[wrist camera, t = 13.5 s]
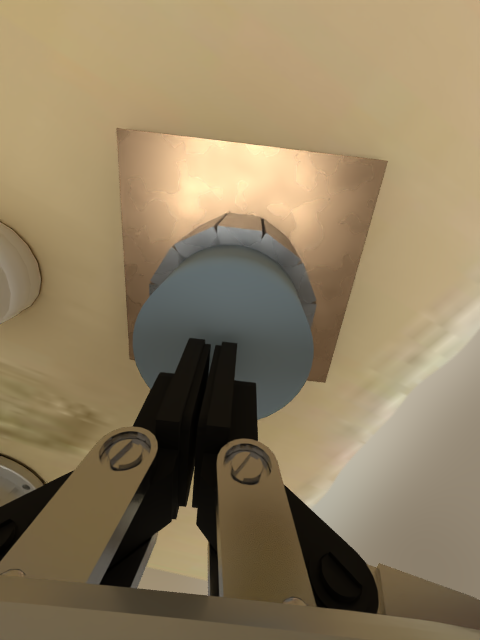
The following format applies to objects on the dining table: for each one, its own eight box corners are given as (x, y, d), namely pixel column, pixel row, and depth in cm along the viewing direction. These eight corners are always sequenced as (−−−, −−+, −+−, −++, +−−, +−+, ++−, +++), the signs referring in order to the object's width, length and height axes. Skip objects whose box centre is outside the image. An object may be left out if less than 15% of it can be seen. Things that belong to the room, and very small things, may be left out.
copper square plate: (321, 371, 25) (347, 446, 18) (136, 349, 25) (88, 416, 18) (378, 162, 19) (456, 148, 11) (126, 132, 19) (44, 99, 11)
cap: (280, 341, 20) (294, 433, 13) (179, 330, 20) (136, 414, 13) (300, 238, 17) (333, 279, 10) (182, 224, 17) (127, 255, 10)
